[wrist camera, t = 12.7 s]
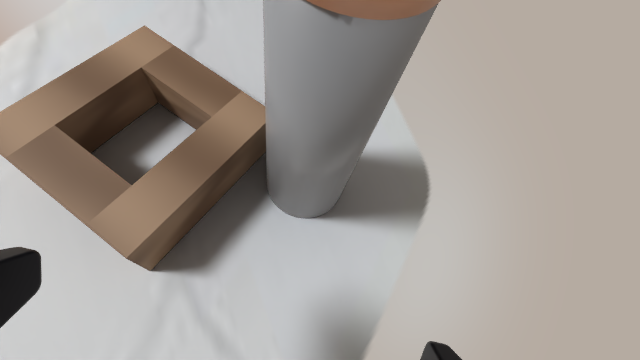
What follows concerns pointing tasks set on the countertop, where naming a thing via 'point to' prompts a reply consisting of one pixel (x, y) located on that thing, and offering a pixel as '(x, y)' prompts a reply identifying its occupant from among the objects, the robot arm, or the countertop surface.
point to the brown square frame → (115, 114)
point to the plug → (329, 89)
